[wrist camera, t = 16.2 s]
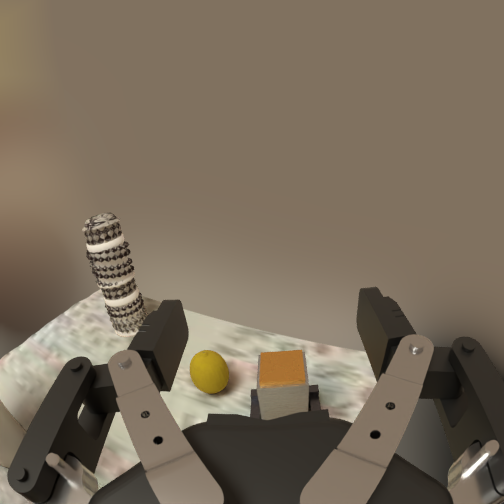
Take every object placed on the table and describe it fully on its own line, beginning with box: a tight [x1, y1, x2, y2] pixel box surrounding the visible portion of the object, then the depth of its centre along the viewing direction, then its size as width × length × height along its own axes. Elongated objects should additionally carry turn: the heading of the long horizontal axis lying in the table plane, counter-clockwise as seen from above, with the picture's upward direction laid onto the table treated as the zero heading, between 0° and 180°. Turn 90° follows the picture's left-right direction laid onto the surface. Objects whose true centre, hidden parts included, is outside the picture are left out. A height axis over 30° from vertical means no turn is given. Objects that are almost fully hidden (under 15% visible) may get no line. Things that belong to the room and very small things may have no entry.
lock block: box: [257, 350, 309, 420], centre depth 30 cm, size 5×5×13 cm
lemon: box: [190, 350, 229, 394], centre depth 39 cm, size 6×6×8 cm
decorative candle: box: [82, 213, 148, 337], centre depth 54 cm, size 9×9×25 cm
